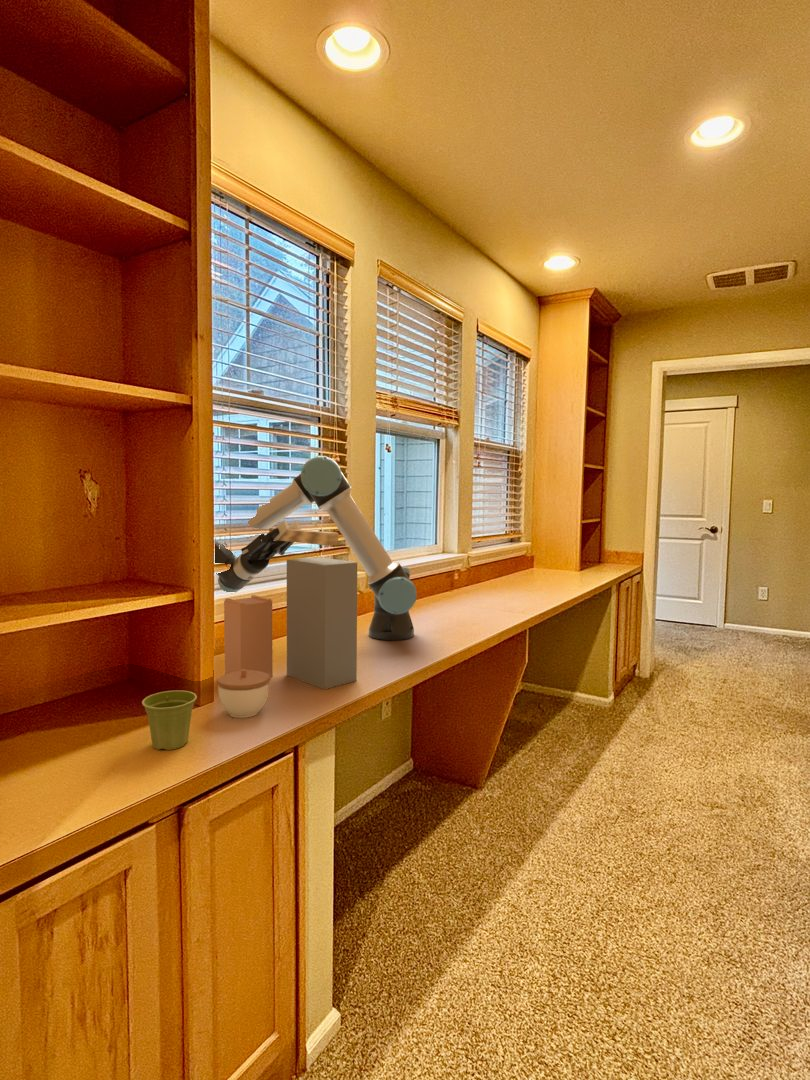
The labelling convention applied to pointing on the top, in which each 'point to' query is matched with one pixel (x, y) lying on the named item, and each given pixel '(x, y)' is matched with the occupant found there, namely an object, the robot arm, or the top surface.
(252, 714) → the lidded jar
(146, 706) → the plant pot
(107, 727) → the top surface
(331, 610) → the slate riser
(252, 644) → the tall salmon pillar
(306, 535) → the birch batten
